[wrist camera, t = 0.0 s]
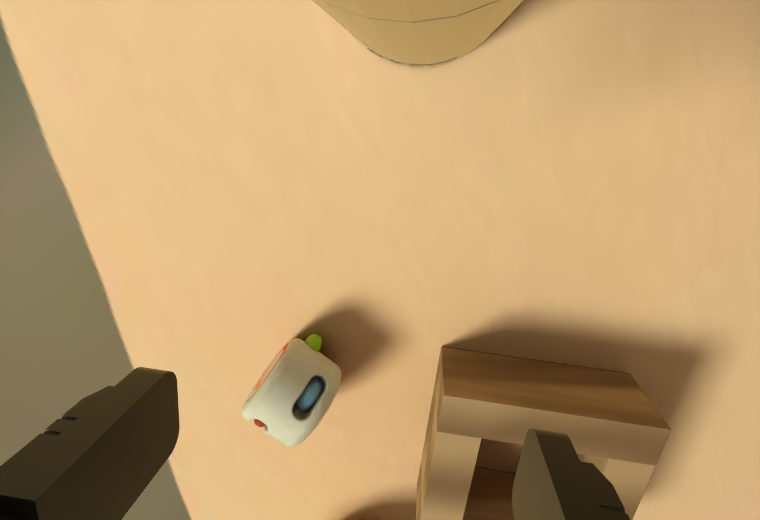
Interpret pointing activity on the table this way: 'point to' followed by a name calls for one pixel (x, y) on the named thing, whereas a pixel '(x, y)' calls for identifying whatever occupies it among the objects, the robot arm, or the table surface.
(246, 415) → the roller toy
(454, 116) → the table surface
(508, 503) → the walnut pin block
